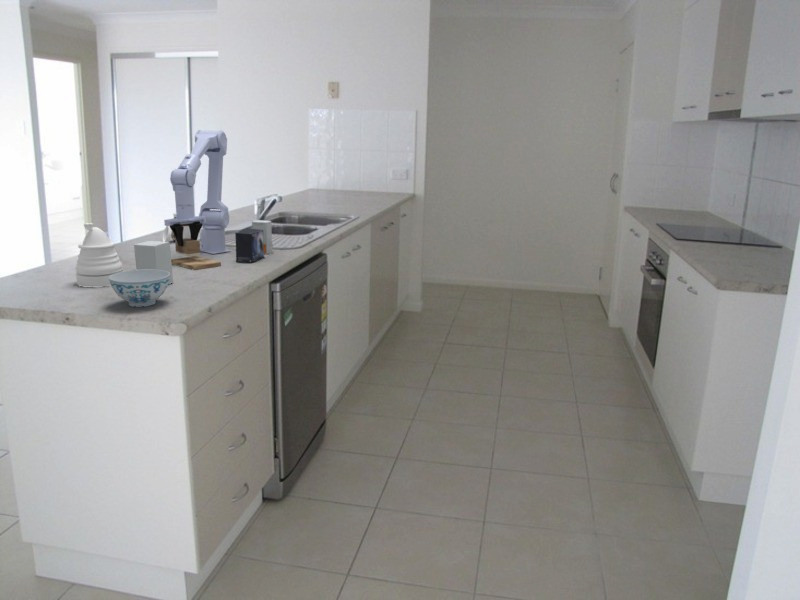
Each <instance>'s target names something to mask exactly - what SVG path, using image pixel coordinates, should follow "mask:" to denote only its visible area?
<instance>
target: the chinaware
mask: <svg viewBox="0 0 800 600" xmlns="http://www.w3.org/2000/svg"><path fill="white" fill-rule="evenodd" d="M169 279H170V273H169V272H167V271H164V270H155V269H141V270H136V269H133V270H132V269H130V270H123V272H118V273H115V274H112V275H111V276H109V280H110V283H111V286H110V287H112V290H113V292H115V294H117V296H118V297H120V298H121V299H122V300H124V301H126V302H127V303H128V306H130V307H134V306H136V307H137V308H139V307H140V308H141V307H142V306H144V307H149V306H152V305H155V304H156V303H157V300H158V299H159V298H160V297H161V296H162V295H163V294H164V293H165V292H166V290H167V288H168V286H169V285H168V283H169Z"/></svg>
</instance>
